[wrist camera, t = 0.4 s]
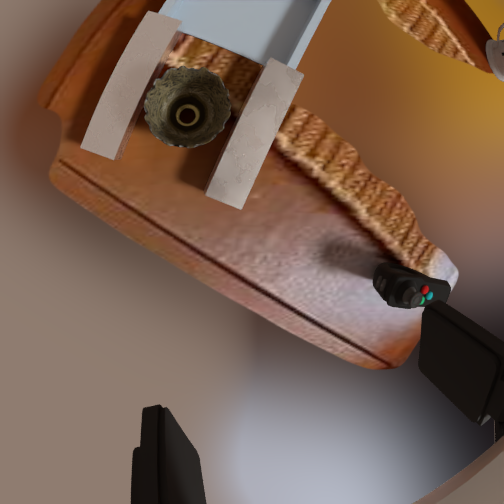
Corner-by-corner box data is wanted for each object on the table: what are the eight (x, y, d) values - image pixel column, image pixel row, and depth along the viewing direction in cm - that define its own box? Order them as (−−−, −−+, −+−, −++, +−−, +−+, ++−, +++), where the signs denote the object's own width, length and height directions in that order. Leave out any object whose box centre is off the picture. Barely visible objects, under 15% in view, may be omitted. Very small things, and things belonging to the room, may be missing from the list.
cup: (227, 90, 31) (239, 73, 23) (214, 153, 33) (222, 154, 25) (161, 80, 29) (154, 59, 22) (147, 143, 31) (135, 141, 24)
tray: (210, -48, 24) (213, -60, 21) (324, 2, 29) (334, -7, 26) (158, 24, 27) (156, 14, 24) (286, 77, 32) (294, 71, 29)
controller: (363, 253, 41) (407, 281, 31) (423, 264, 44) (466, 289, 34) (354, 282, 42) (393, 316, 32) (414, 289, 45) (454, 318, 36)
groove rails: (151, 22, 26) (148, 10, 23) (293, 81, 32) (304, 74, 29) (90, 147, 30) (80, 147, 26) (236, 204, 35) (241, 209, 32)
